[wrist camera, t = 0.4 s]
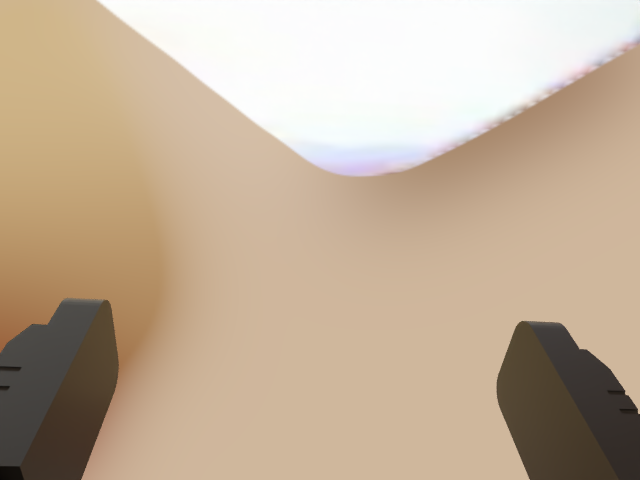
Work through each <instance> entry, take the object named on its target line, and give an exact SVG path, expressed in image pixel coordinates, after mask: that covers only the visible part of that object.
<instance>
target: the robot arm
mask: <svg viewBox="0 0 640 480" xmlns="http://www.w3.org/2000/svg"><path fill="white" fill-rule="evenodd" d="M118 366H119V364H118V353H117V347H116V339H115V332H114V324H113V318H112V310H111V305H110V303H109V301H108V300H96V299H95V300H94V299H76V298H66V299H64V300H63V301H62V302H61V304H60V305H59V307H58V308H57V310H56V312H55V313H54V315H53V317H52V318H51V320H50V322H49V323H48V325H39V324H32V325H30V326H29V327H28V328H26V329H25V330H24V331H22V332H21V333H20V334H19V335H17V336H16V337H15V338H13V339H12V340H11V341H9V342H8V343H7V344H6V346H5V347H4V349H3V350H2V352H1V353H0V480H81V479H82V476H83V473H84V471H85V468H86V465H87V462H88V460H89V457H90V455H91V452H92V450H93V447H94V444H95V441H96V439H97V436H98V434H99V431H100V429H101V426H102V423H103V420H104V418H105V415H106V413H107V410H108V407H109V405H110V402H111V399H112V396H113V394H114V391H115V388H116V384H117V378H118ZM497 398H498V403H499V406H500V409H501V412H502V414H503V416H504V419H505V421H506V423H507V426H508V428H509V431H510V433H511V435H512V438H513V440H514V443H515V445H516V448H517V450H518V452H519V455H520V457H521V459H522V462H523V464H524V467H525V469H526V471H527V474H528V476H529V479H530V480H640V414H638V409H637V407H636V406H635V404H634V403H633V402H632V400H631V399H630V397H629V396H627V395H625V390H624V389H623V387H622V386H621V384H620V383H619V381H618V380H617V379H616V377H615V376H614V374H613V373H612V371H611V370H610V369H609V368H608V367H607V366H606V365H605V364H603V363H602V362H601V361H600V360H599V359H597V358H596V357H595V356H594V355H593V354H591V353H590V352H589V351H588V350H584V349H579V348H578V346H577V344H576V343H575V341H574V340H573V338H572V337H571V336H570V334H569V332H568V331H567V329H566V328H565V327H564V326H563V325H562V324H560V323H554V322H533V321H532V322H531V321H521V322H520V323H519V324H518V325H517V326H516V328H515V331H514V333H513V336H512V339H511V342H510V344H509V347H508V350H507V352H506V355H505V358H504V361H503V363H502V366H501V369H500V372H499V375H498V379H497Z"/></svg>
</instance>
